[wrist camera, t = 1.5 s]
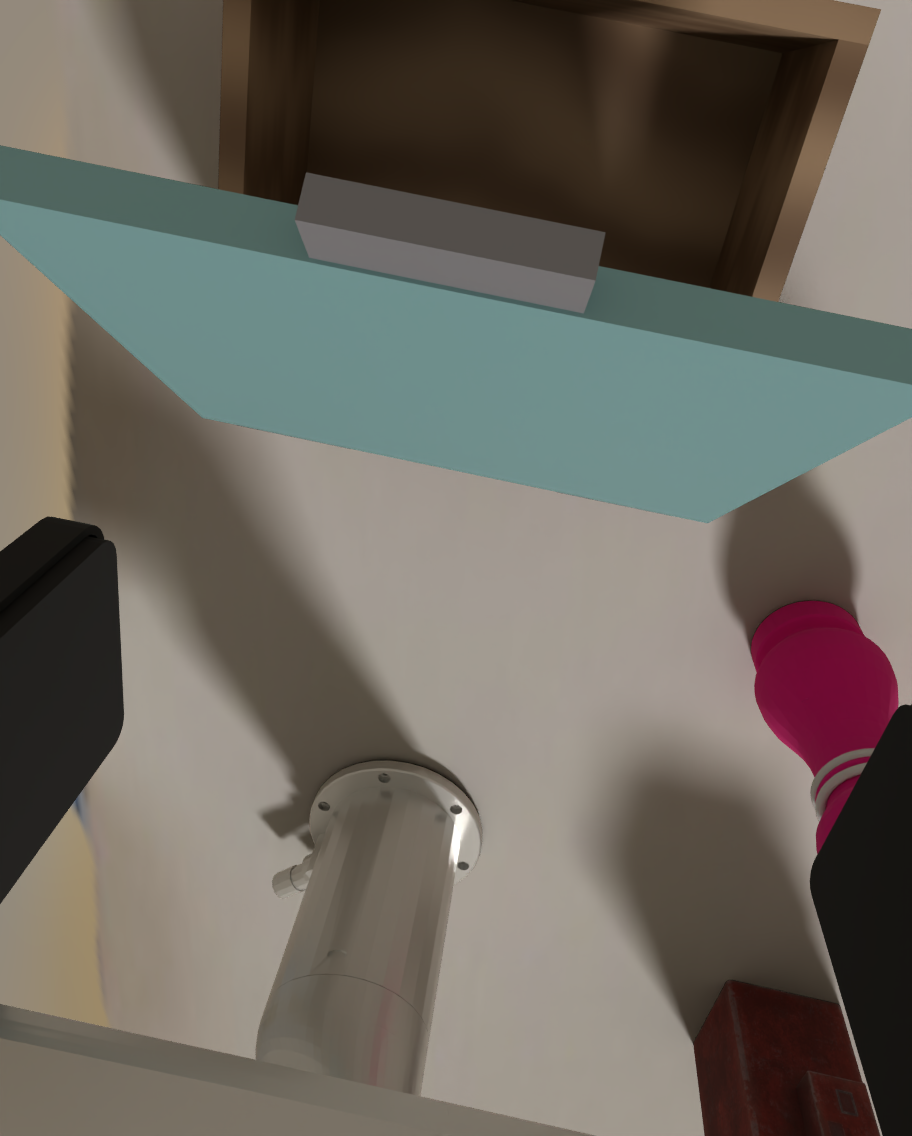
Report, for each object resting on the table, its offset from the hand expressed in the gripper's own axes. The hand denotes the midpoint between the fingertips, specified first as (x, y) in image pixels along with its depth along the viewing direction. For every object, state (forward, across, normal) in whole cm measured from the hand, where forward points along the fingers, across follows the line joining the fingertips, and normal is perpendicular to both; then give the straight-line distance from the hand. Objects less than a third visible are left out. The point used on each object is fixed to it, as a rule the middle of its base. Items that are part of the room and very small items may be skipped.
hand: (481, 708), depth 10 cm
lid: (+18, +2, +1) cm, 18 cm away
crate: (+36, +2, -2) cm, 36 cm away
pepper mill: (+36, -19, +19) cm, 45 cm away
